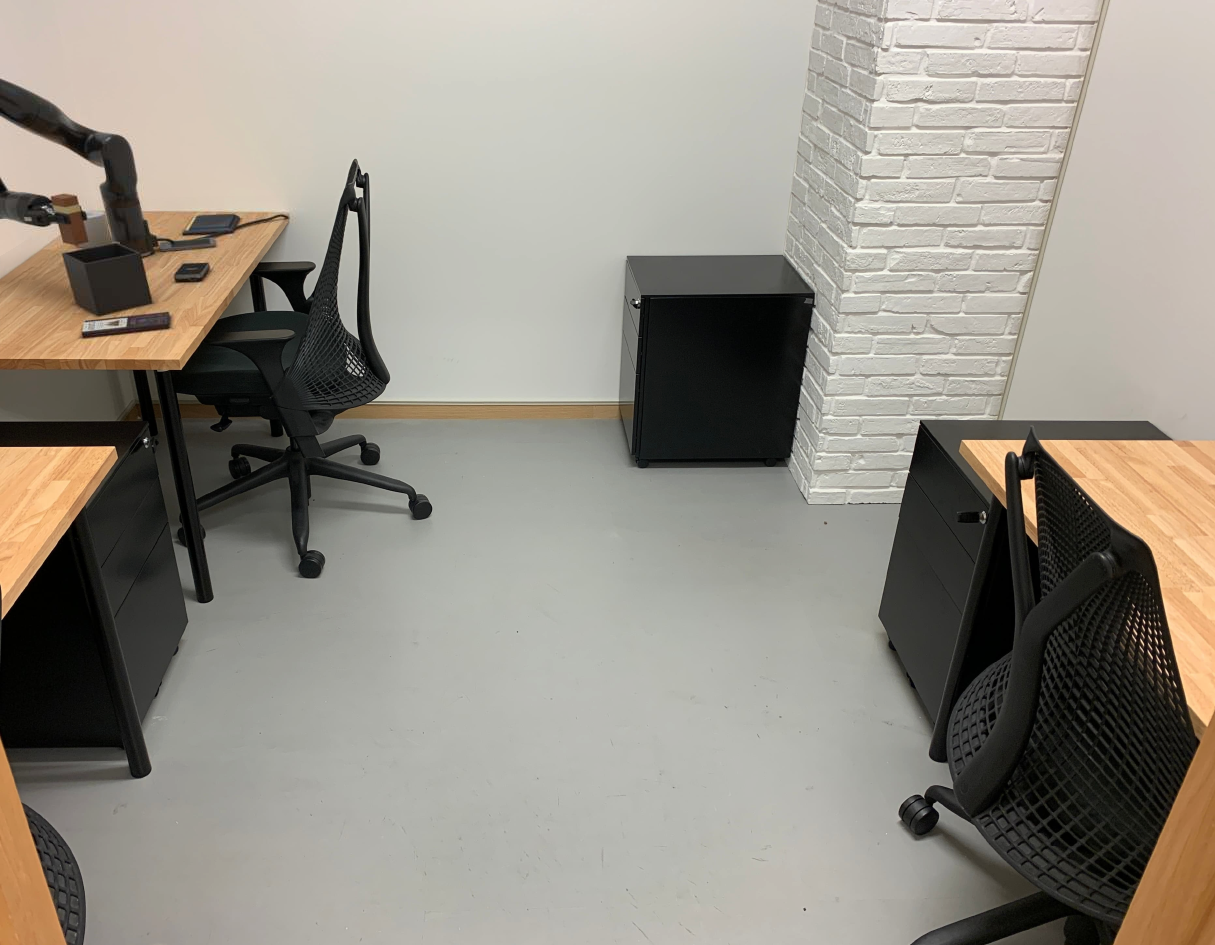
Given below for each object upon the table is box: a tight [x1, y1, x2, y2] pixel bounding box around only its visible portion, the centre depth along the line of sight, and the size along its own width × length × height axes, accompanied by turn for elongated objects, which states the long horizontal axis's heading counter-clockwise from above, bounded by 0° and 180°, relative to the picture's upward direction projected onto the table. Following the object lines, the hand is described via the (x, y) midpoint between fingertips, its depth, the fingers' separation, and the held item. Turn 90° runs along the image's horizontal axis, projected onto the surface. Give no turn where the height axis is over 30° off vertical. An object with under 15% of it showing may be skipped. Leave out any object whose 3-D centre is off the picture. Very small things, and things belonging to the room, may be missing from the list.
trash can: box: [61, 243, 154, 317], centre depth 226 cm, size 13×13×13 cm
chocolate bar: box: [81, 311, 170, 339], centre depth 214 cm, size 9×1×18 cm
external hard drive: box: [173, 262, 211, 283], centre depth 248 cm, size 7×11×2 cm, turn 9°
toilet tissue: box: [77, 210, 113, 249], centre depth 274 cm, size 9×13×9 cm
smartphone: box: [159, 237, 216, 252], centre depth 274 cm, size 15×8×1 cm, turn 113°
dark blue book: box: [182, 213, 240, 236], centre depth 293 cm, size 20×2×15 cm
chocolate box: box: [50, 193, 89, 246], centre depth 221 cm, size 5×4×11 cm
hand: (76, 218), depth 219 cm, fingers closed on chocolate box, 3 cm apart
